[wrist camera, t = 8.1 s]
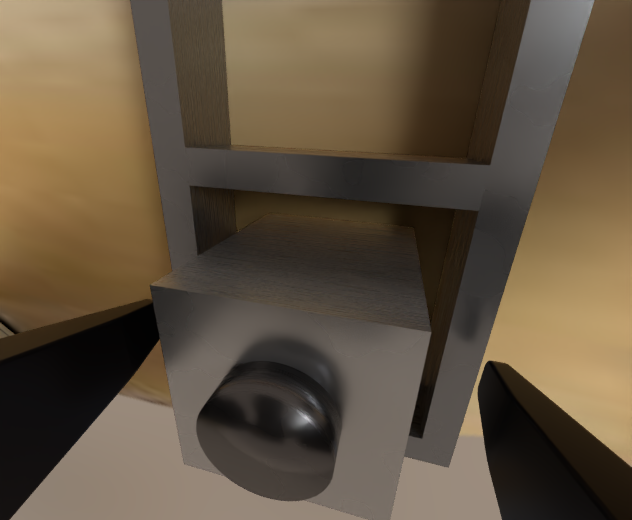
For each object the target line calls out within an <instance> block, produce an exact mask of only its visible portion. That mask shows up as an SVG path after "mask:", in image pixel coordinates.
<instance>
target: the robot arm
mask: <svg viewBox="0 0 632 520" xmlns="http://www.w3.org/2000/svg"><path fill="white" fill-rule="evenodd" d="M159 339H160V336H159V331H158V326H157V320H156V315H155V310H154V305H153V300H151V299H145V300H142V301H138V302H134V303H131V304H127V305H123V306H119V307H116V308H112V309H108V310H104V311H101V312H97V313H93V314H89V315H86V316H82V317H78V318H74V319H71V320H67V321H63V322H59V323H56V324H52V325H48V326H44V327H41V328H37V329H33V330H29V331H26V332H22V333H18V334H15V335H11V336H7V337H3V338H0V520H10V519H11V517H12V516H13V515H14V514H15V513H16V512H17V510H18V509H19V508H20V507H21V506H22V505H23V503H24V502H25V501H26V500H27V499H28V498H29V496H30V495H31V494H32V493H33V492H34V491H35V490H36V488H37V487H38V486H39V485H40V484H41V482H42V481H43V480H44V479H45V478H46V477H47V475H48V474H49V473H50V472H51V471H52V470H53V469H54V467H55V466H56V465H57V464H58V463H59V462H60V460H61V459H62V458H63V457H64V456H65V455H66V453H67V452H68V451H69V450H70V449H71V447H72V446H73V445H74V444H75V443H76V442H77V441H78V439H79V438H80V437H81V436H82V435H83V434H84V432H85V431H86V430H87V429H88V428H89V426H90V425H91V424H92V423H93V422H94V421H95V419H97V417H98V416H99V415H100V414H101V413H102V411H103V410H104V409H105V408H106V407H107V406H108V405H109V403H110V402H111V401H112V400H113V399H114V398H115V396H116V395H117V394H118V393H119V392H120V391H121V389H122V388H123V387H124V386H125V385H126V384H127V382H128V381H129V380H130V379H131V378H132V376H133V375H134V374H135V372H136V371H137V370H138V369H139V367H140V366H141V364H142V363H143V362H144V360H145V359H146V357H147V356H148V355H149V353H150V352H151V350H152V349H153V348H154V346H155V345H156V343H157V342H158V341H159ZM478 401H479V408H480V415H481V422H482V429H483V436H484V443H485V450H486V456H487V462H488V466H489V470H490V475H491V478H492V482H493V486H494V490H495V494H496V498H497V502H498V506H499V509H500V513H501V517H502V520H632V467H631V466H630V465H628V464H627V463H626V462H625V461H624V460H622V459H621V458H620V457H619V456H618V455H616V454H615V453H614V452H613V451H612V450H610V449H609V448H608V447H607V446H606V445H604V444H603V443H602V442H601V441H600V440H598V439H597V438H596V437H595V436H594V435H592V434H591V433H590V432H589V431H588V430H586V429H585V428H584V427H583V426H582V425H580V424H579V423H578V422H577V421H576V420H574V419H573V418H572V417H571V416H570V415H568V414H567V413H566V412H565V411H564V410H562V409H561V408H560V407H559V406H558V405H556V404H555V403H554V402H553V401H552V400H550V399H549V398H548V397H547V396H546V395H544V394H543V393H542V392H541V391H540V390H538V389H537V388H536V387H535V386H534V385H532V384H531V383H530V382H529V381H528V380H526V379H525V378H524V377H523V376H522V375H520V374H519V373H518V372H517V371H516V370H514V369H513V368H512V367H511V366H509V365H508V364H506V363H501V362H496V361H488V362H487V363H486V364H485V367H484V370H483V373H482V377H481V380H480V383H479V386H478Z"/></svg>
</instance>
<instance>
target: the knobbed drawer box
mask: <svg viewBox="0 0 632 520" xmlns="http://www.w3.org/2000/svg"><path fill="white" fill-rule="evenodd" d="M150 289H151V294H152V299H153V305H154V310H155V315H156V320H157V326H158V331H159V336H160V341H161V347H162V352H163V357H164V362H165V368H166V373H167V378H168V383H169V388H170V394H171V399H172V404H173V409H174V415H175V420H176V425H177V430H178V436H179V440H180V446H181V451H182V456H183V462H184V464H186V465H189V466H193V467H196V468H199V469H203V470H206V471H209V472H212V473H216V474H219V475H222V476H226V477H227V478H228V479H230V480H231V481H232V482H234V483H235V484H237V485H239V486H240V487H242V488H244V489H246V490H248V491H250V492H252V493H255V494H257V495H260V496H263V497H266V498H270V499H275V500H281V501H300V500H305V501H309V502H312V503H315V504H318V505H322V506H325V507H328V508H331V509H335V510H339V511H341V512H345V513H348V514H351V515H355V516H358V517H361V518H365V519H368V520H390V517H391V513H392V508H393V503H394V499H395V495H396V490H397V485H398V481H399V477H400V472H401V468H402V463H403V458H404V454H405V450H406V445H407V440H408V436H409V431H410V427H411V422H412V418H413V413H414V409H415V404H416V400H417V395H418V391H419V386H420V382H421V377H422V372H423V368H424V363H425V359H426V354H427V350H428V345H429V341H430V336H431V327H430V321H429V315H428V309H427V304H426V298H425V292H424V286H423V280H422V274H421V268H420V262H419V256H418V251H417V245H416V239H415V233H414V227H407V226H397V225H387V224H378V223H368V222H358V221H348V220H338V219H328V218H318V217H308V216H298V215H289V214H279V213H269V214H267V215H265V216H264V217H262V218H260V219H259V220H257V221H255V222H254V223H252V224H250V225H249V226H247V227H245V228H244V229H242V230H240V231H239V232H237V233H235V234H234V235H232V236H230V237H229V238H227V239H225V240H224V241H222V242H220V243H219V244H217V245H215V246H214V247H212V248H210V249H209V250H207V251H205V252H204V253H202V254H200V255H199V256H197V257H195V258H194V259H192V260H190V261H189V262H187V263H185V264H184V265H182V266H180V267H179V268H177V269H175V270H174V271H172V272H170V273H169V274H167V275H165V276H164V277H162V278H160V279H159V280H157V281H155V282H154V283H152V284H150Z"/></svg>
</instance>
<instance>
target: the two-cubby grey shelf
mask: <svg viewBox="0 0 632 520" xmlns="http://www.w3.org/2000/svg"><path fill="white" fill-rule="evenodd" d="M130 3H131V9H132V15H133V22H134V28H135V35H136V41H137V48H138V54H139V60H140V67H141V73H142V80H143V86H144V93H145V99H146V105H147V112H148V118H149V125H150V131H151V138H152V144H153V150H154V157H155V163H156V170H157V176H158V183H159V189H160V195H161V202H162V208H163V215H164V221H165V228H166V234H167V240H168V247H169V253H170V260H171V266H172V271H174V270H175V269H177V268H179V267H180V266H182V265H184V264H185V263H187V262H189V261H190V260H192V259H194V258H195V257H197V256H199V255H200V254H202V253H204V252H205V251H207V250H209V249H210V248H212V247H214V246H215V245H217V244H219V243H220V242H222V241H224V240H225V239H227V238H229V237H230V236H232V235H234V234H235V233H236V219H235V204H234V189H235V190H246V191H257V192H269V193H280V194H292V195H303V196H314V197H326V198H337V199H349V200H360V201H371V202H383V203H394V204H406V205H417V206H428V207H440V208H451V209H455V214H454V219H453V223H452V228H451V232H450V237H449V242H448V246H447V251H446V255H445V260H444V264H443V269H442V274H441V278H440V283H439V287H438V292H437V297H436V301H435V306H434V310H433V315H432V319H431V324H430V327H431V336H430V341H429V345H428V350H427V354H426V359H425V363H424V368H423V372H422V377H421V382H420V386H419V391H418V395H417V400H416V404H415V409H414V413H413V418H412V422H411V427H410V431H409V436H408V440H407V445H406V450H405V454H404V457H408V458H412V459H416V460H420V461H425V462H428V463H432V464H436V465H440V466H444V467H449V465H450V462H451V458H452V455H453V452H454V449H455V446H456V442H457V439H458V436H459V433H460V430H461V426H462V423H463V420H464V417H465V414H466V410H467V407H468V404H469V401H470V398H471V394H472V391H473V388H474V385H475V382H476V378H477V375H478V372H479V369H480V366H481V362H482V359H483V356H484V353H485V350H486V346H487V343H488V340H489V337H490V334H491V330H492V327H493V324H494V321H495V317H496V314H497V311H498V308H499V305H500V301H501V298H502V295H503V292H504V289H505V285H506V282H507V279H508V276H509V273H510V269H511V266H512V263H513V260H514V257H515V253H516V250H517V247H518V244H519V241H520V237H521V234H522V231H523V228H524V225H525V221H526V218H527V215H528V212H529V209H530V205H531V202H532V199H533V196H534V193H535V189H536V186H537V183H538V180H539V177H540V173H541V170H542V167H543V164H544V161H545V157H546V154H547V151H548V148H549V145H550V141H551V138H552V135H553V132H554V129H555V125H556V122H557V119H558V116H559V113H560V109H561V106H562V103H563V100H564V97H565V93H566V90H567V87H568V84H569V81H570V77H571V74H572V71H573V68H574V65H575V61H576V58H577V55H578V52H579V48H580V45H581V42H582V39H583V36H584V32H585V29H586V26H587V23H588V20H589V16H590V13H591V10H592V7H593V4H594V0H501V3H500V8H499V12H498V17H497V22H496V26H495V31H494V35H493V40H492V44H491V49H490V54H489V58H488V63H487V67H486V72H485V77H484V81H483V86H482V90H481V95H480V99H479V104H478V109H477V113H476V118H475V122H474V127H473V132H472V136H471V141H470V145H469V150H468V154H467V158H458V157H440V156H422V155H404V154H386V153H368V152H350V151H331V150H313V149H295V148H277V147H259V146H241V145H231V141H230V125H229V109H228V93H227V77H226V62H225V46H224V30H223V14H222V0H130Z"/></svg>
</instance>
